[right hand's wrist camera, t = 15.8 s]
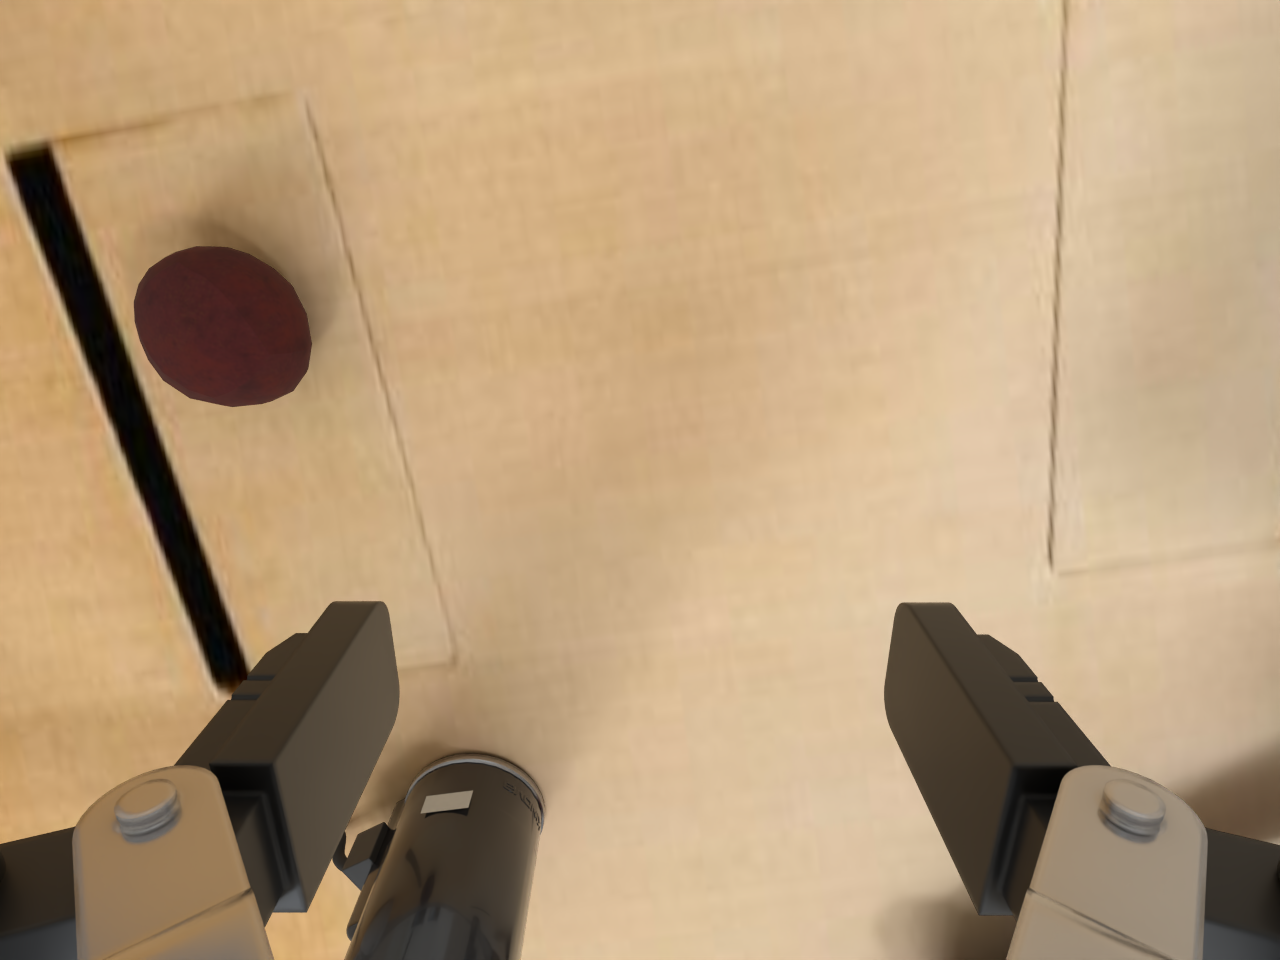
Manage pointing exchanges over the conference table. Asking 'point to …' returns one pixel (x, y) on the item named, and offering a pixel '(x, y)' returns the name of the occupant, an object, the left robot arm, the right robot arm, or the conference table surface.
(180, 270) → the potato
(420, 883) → the right robot arm
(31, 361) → the conference table surface
